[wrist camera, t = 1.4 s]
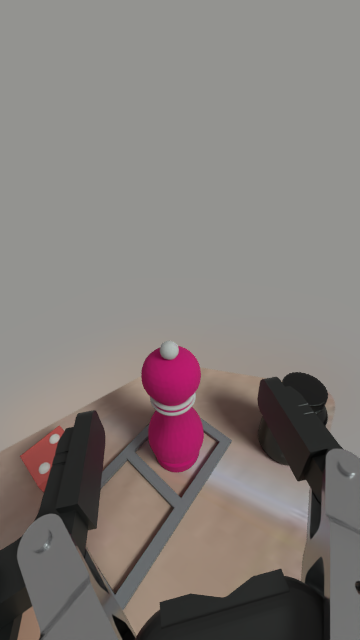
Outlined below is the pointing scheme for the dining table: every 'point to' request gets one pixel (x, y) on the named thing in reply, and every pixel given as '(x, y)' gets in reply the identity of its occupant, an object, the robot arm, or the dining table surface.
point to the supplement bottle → (314, 397)
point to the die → (42, 457)
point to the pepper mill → (173, 406)
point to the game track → (29, 623)
